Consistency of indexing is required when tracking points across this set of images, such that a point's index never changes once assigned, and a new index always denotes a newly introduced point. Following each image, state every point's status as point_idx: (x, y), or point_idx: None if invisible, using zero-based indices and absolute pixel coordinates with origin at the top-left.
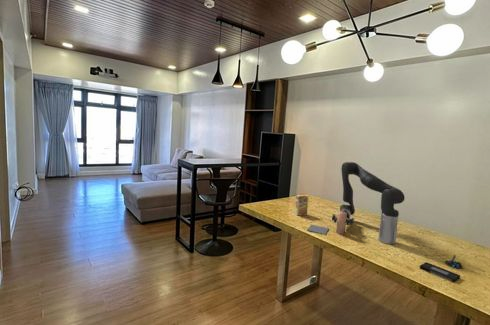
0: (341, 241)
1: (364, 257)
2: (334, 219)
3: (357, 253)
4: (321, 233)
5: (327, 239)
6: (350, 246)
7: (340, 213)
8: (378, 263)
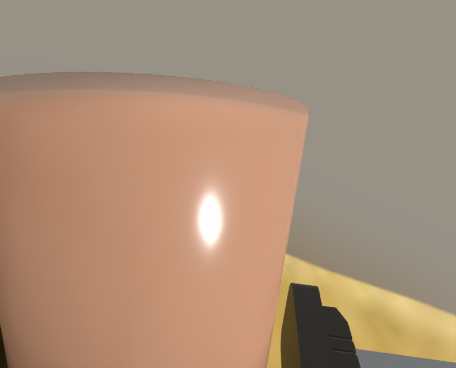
0: None
1: None
2: (337, 327)
3: None
4: (397, 357)
5: (290, 277)
6: None
7: (217, 83)
8: None
